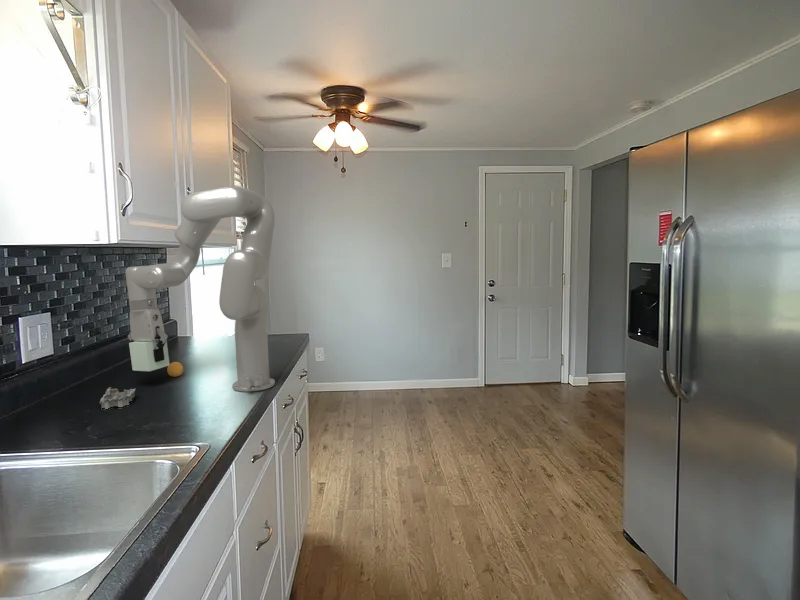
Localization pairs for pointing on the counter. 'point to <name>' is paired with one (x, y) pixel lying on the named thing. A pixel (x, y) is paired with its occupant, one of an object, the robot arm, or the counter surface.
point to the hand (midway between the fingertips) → (150, 360)
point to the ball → (175, 369)
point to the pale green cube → (146, 356)
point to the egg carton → (116, 398)
